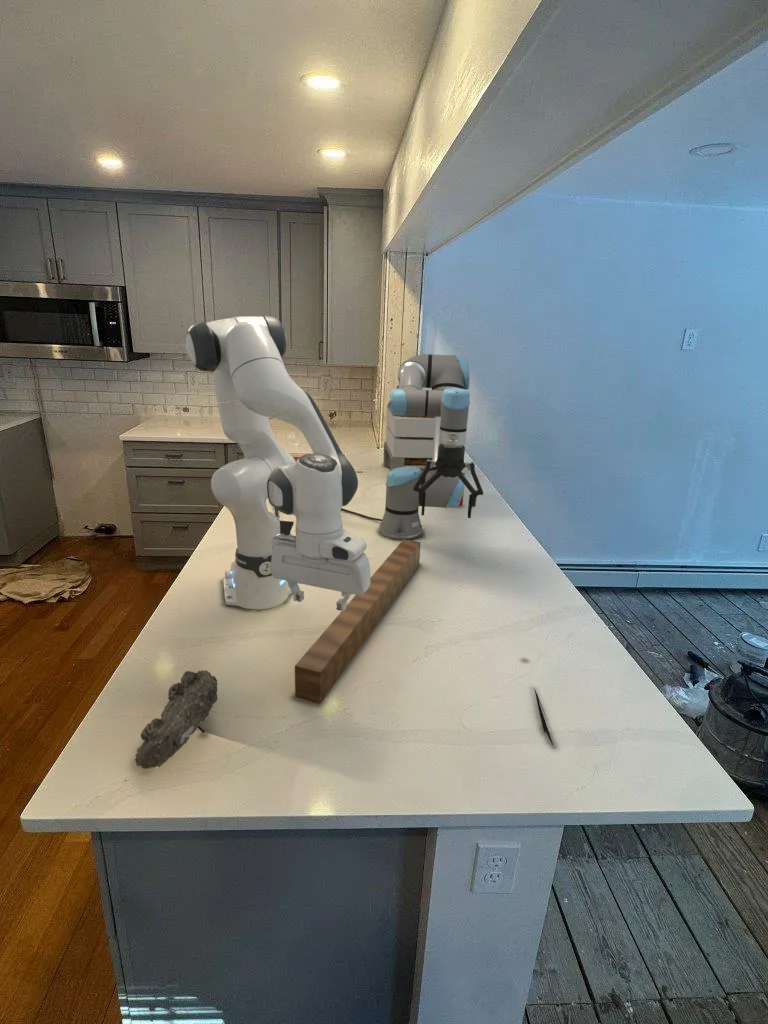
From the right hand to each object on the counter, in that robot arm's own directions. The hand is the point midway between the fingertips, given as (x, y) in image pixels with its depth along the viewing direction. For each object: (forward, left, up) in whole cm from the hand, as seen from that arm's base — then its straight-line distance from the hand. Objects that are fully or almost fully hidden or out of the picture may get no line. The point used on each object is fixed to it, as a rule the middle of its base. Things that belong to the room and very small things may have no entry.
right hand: (445, 515), depth 167 cm
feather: (+55, -28, -18) cm, 64 cm away
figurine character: (-41, -31, -18) cm, 55 cm away
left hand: (+23, -61, +1) cm, 65 cm away
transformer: (-82, +70, -18) cm, 110 cm away
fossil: (+20, -88, -18) cm, 92 cm away
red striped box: (-50, +56, -18) cm, 77 cm away
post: (+8, -35, -18) cm, 40 cm away
